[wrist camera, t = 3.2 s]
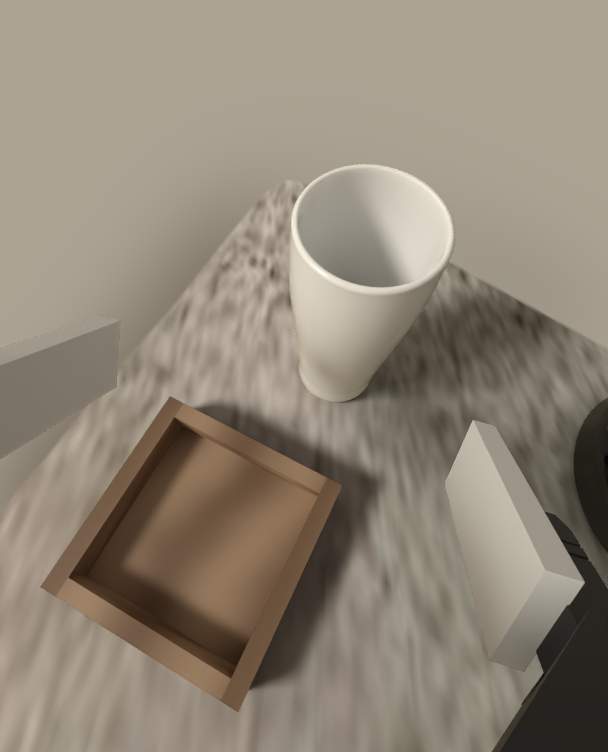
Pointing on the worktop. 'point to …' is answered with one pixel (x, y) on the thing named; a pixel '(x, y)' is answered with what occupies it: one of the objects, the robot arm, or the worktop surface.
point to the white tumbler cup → (362, 271)
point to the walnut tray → (197, 549)
